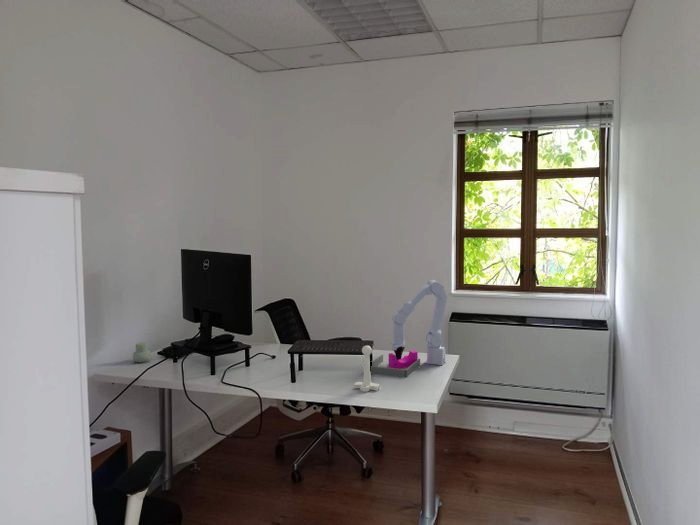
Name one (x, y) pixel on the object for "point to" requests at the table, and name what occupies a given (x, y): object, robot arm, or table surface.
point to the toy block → (402, 360)
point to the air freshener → (141, 353)
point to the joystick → (366, 373)
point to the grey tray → (391, 370)
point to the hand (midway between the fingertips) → (398, 360)
